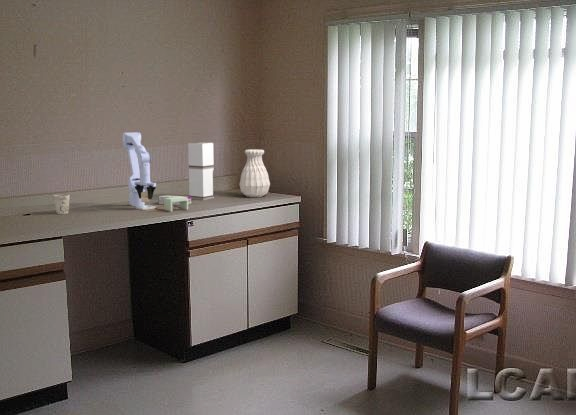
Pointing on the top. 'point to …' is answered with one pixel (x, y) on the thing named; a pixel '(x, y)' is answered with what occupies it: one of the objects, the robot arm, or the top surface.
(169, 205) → the hood
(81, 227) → the top surface
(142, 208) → the tray
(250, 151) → the vase
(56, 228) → the top surface
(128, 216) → the top surface
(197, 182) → the white two-part pillar
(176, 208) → the puzzle board
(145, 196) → the block
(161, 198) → the candy bar box
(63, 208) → the mug
